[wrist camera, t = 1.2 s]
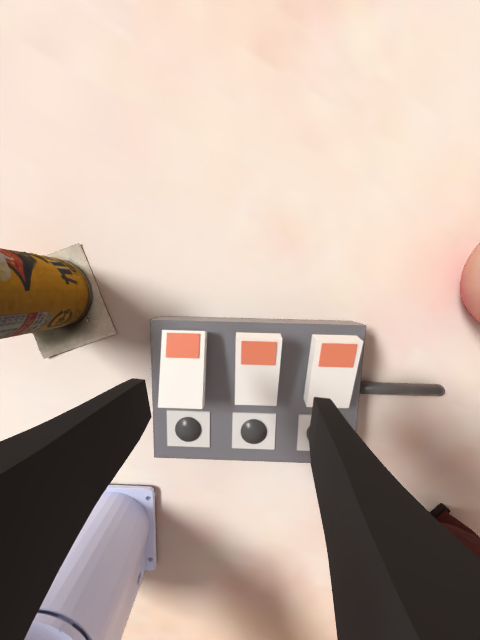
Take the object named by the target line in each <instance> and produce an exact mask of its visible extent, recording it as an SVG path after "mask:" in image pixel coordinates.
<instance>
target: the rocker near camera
mask: <svg viewBox="0 0 480 640" xmlns="http://www.w3.org/2000/svg"><path fill="white" fill-rule="evenodd" d="M362 346H363V341H362V340H361V339H360V338H359V337H358V336H355V335H318V334H312V339H311V347H310V354H309V361H308V369H307V376H306V383H305V391H304V401H305V404H306V407H313V399H314V397H321V398H330V399H331V400H332V401H333V403H334V404H335V405H336V407H337V408H349V405H350V400H351V396H352V391H353V387H354V382H355V378H356V373H357V369H358V364H359V359H360V355H361V350H362Z"/></svg>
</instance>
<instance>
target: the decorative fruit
mask: <svg viewBox="0 0 480 640" xmlns="http://www.w3.org/2000/svg"><path fill="white" fill-rule="evenodd" d="M460 293H461V298H462V301H463V303H464V305H465V307H466V308H467V310H468V311H469V313H470V314H471V315H472V316H473V317H474V319H475V320H476V321H477V322H479V323H480V243H479V244H478V246H477V247H476V248H475V249H474V250H473V252H472V253H471V255H470V256H469V258H468V260H467V262H466V264H465V266H464V269H463V271H462V275H461V282H460Z"/></svg>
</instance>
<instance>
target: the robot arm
mask: <svg viewBox="0 0 480 640" xmlns="http://www.w3.org/2000/svg"><path fill="white" fill-rule="evenodd" d="M150 418H151V412H150V406H149V400H148V395H147V389H146V383H145V380H142V379H133V378H132V379H130V380H128V381H126V382H123V383H121V384H119V385H117V386H115V387H114V388H112V389H110V390H108V391H106V392H104V393H102V394H100V395H98V396H96V397H94V398H93V399H91V400H89V401H87V402H85V403H83V404H81V405H79V406H77V407H75V408H73V409H71V410H69V411H67V412H65V413H63V414H61V415H59V416H57V417H55V418H53V419H51V420H49V421H47V422H45V423H42V424H40V425H38V426H36V427H34V428H31V429H29V430H27V431H24V432H22V433H20V434H17V435H15V436H13V437H10V438H8V439H5V440H3V441H0V640H121V637H122V635H123V632H124V629H125V626H126V623H127V621H128V618H129V615H130V612H131V609H132V606H133V604H134V601H135V598H136V595H137V592H138V589H139V587H140V584H141V581H142V578H143V575H144V572H145V571H153V570H155V568H156V564H157V560H156V525H155V491H154V488H153V487H150V486H128V485H109V484H110V483H111V481H112V480H113V478H114V477H115V475H116V474H117V472H118V471H119V469H120V468H121V466H122V465H123V464H124V462H125V461H126V459H127V458H128V456H129V455H130V453H131V452H132V450H133V449H134V447H135V446H136V444H137V443H138V441H139V440H140V438H141V436H142V434H143V432H144V430H145V428H146V426H147V424H148V422H149V420H150ZM309 448H310V459H311V467H312V472H313V477H314V483H315V488H316V493H317V498H318V503H319V508H320V513H321V519H322V524H323V529H324V534H325V540H326V546H327V552H328V559H329V568H330V576H331V584H332V593H333V602H334V611H335V620H336V629H337V638H338V640H480V559H479V558H478V557H477V556H476V555H475V554H474V553H473V552H472V551H470V550H469V549H468V548H467V547H466V546H465V545H464V544H463V543H462V542H461V541H459V540H458V539H457V538H456V537H455V536H454V535H453V534H452V533H451V532H449V531H448V530H447V529H446V528H445V527H444V526H443V525H442V524H441V523H440V522H439V521H438V520H437V519H435V518H434V517H433V516H432V515H431V514H430V513H429V512H428V511H427V510H426V509H425V508H424V507H423V506H422V505H421V504H420V503H419V502H418V501H417V500H416V499H415V498H414V497H413V496H412V495H411V494H410V493H409V492H408V491H407V490H406V489H405V488H404V487H403V486H402V485H401V484H400V483H399V482H398V481H397V479H396V478H395V477H394V476H393V475H392V474H391V473H390V472H389V471H388V470H387V468H386V467H385V466H384V465H383V464H382V463H381V462H380V461H379V460H378V458H377V457H376V456H375V455H374V454H373V453H372V451H371V450H370V449H369V448H368V447H367V445H366V444H365V443H364V442H363V440H362V439H361V438H360V437H359V436H358V434H357V433H356V432H355V431H354V429H353V428H352V427H351V425H350V424H349V423H348V421H347V420H346V419H345V417H344V416H343V415H342V413H341V412H340V411H339V409H338V408H337V407H336V405H335V404H334V403H333V401H332V400H331V399H330V398H321V397H314V399H313V407H312V414H311V422H310V430H309ZM148 496H150V497H148Z"/></svg>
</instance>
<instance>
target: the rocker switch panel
mask: <svg viewBox="0 0 480 640" xmlns="http://www.w3.org/2000/svg"><path fill="white" fill-rule="evenodd" d="M150 327H151V362H152V398H153V433H154V457H157V458H185V459H213V460H241V461H269V462H297V463H311V459H310V448H309V430H310V422H311V414H312V407H306V404H305V401H304V391H305V383H306V376H307V369H308V361H309V354H310V347H311V339H312V334H318V335H355V336H358V337H359V338H360V339H361V340H362V341H363V346H362V350H361V355H360V359H359V364H358V369H357V373H356V378H355V382H354V387H353V391H352V396H351V400H350V405H349V408H338V409H339V411H340V412H341V413H342V415H343V416H344V417H345V419H346V420H347V421H348V423H349V424H350V425H351V427H352V428H353V429H354V431H355V432H356V423H357V413H358V403H359V394H391V395H423V396H442V395H443V394H444V393H445V389H444V388H443V387H442V386H441V385H438V384H408V383H375V382H361V372H362V361H363V351H364V341H365V330H366V325H363V324H360V323H356V322H353V321H333V320H294V319H255V318H216V317H177V316H160V317H157V318H154V319H151V320H150ZM162 330H185V331H207V353H206V379H205V405H204V407H203V408H202V409H186V408H158V396H159V377H160V359H161V340H162ZM236 332H243V333H280V334H281V337H282V350H281V361H280V372H279V383H278V395H277V406H261V405H235V351H236Z"/></svg>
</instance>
